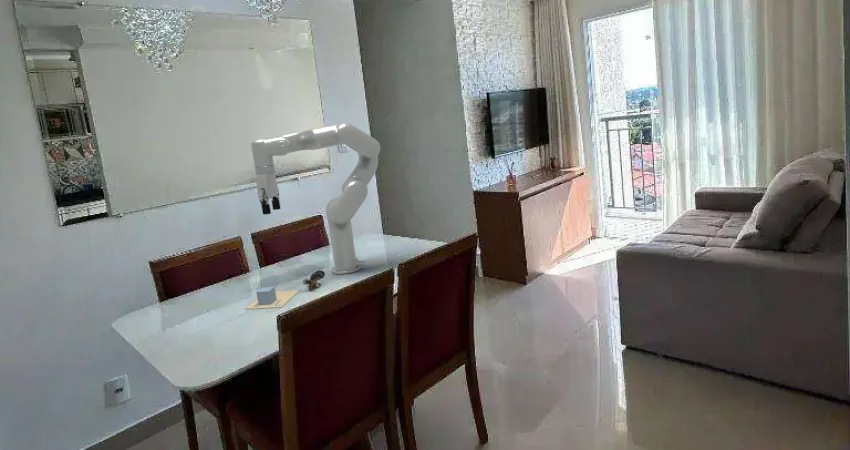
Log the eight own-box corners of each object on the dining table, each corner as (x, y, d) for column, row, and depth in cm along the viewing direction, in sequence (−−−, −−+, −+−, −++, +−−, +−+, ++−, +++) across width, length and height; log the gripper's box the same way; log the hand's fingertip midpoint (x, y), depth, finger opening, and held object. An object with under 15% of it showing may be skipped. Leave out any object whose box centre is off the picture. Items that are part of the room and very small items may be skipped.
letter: (299, 290, 216) (299, 290, 216) (281, 307, 198) (281, 306, 198) (266, 292, 218) (266, 292, 218) (245, 309, 201) (245, 308, 201)
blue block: (276, 299, 208) (274, 286, 206) (271, 304, 203) (268, 291, 202) (264, 299, 208) (262, 287, 207) (258, 304, 204) (256, 291, 203)
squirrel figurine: (323, 288, 213) (330, 276, 221) (310, 275, 211) (317, 264, 219) (310, 298, 215) (317, 286, 223) (297, 285, 214) (305, 274, 222)
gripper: (265, 168, 229) (272, 208, 233) (246, 173, 213) (254, 216, 216) (282, 166, 228) (288, 207, 232) (264, 172, 212) (271, 215, 215)
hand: (272, 211), depth 224 cm, fingers open, 9 cm apart
